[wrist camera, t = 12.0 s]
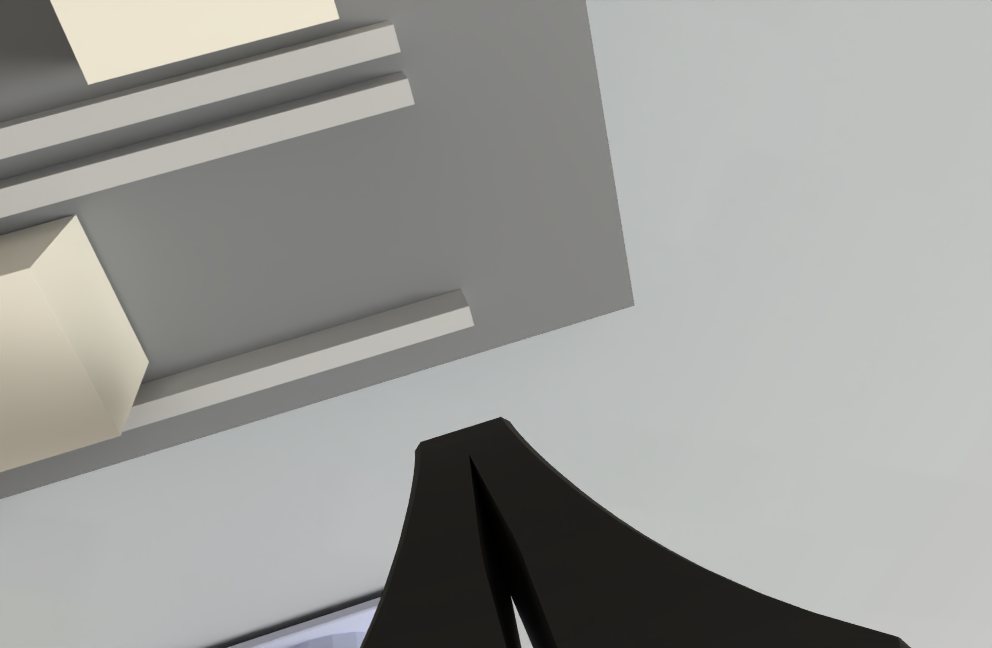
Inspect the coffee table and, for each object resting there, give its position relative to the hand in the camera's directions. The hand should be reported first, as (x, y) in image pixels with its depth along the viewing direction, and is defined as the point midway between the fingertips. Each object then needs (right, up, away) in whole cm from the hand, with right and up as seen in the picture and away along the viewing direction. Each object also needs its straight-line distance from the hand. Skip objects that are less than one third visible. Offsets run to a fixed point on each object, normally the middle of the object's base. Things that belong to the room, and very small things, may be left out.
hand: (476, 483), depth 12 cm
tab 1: (-10, +2, +5) cm, 11 cm away
